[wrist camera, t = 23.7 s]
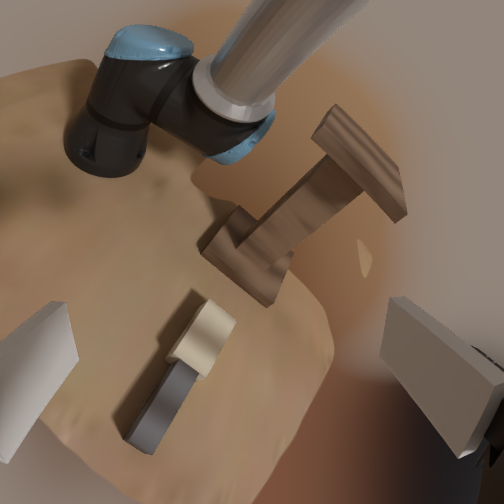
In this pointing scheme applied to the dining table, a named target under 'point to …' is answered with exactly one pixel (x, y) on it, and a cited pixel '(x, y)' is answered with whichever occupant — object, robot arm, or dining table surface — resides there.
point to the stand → (306, 207)
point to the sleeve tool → (181, 374)
